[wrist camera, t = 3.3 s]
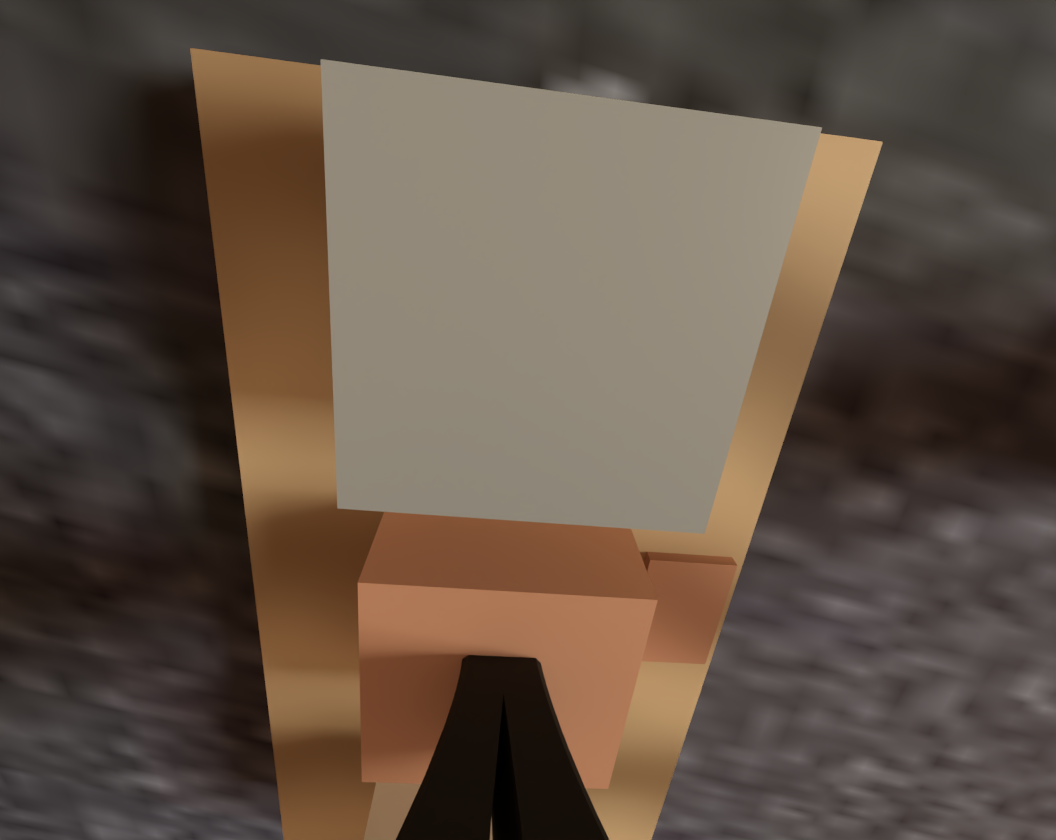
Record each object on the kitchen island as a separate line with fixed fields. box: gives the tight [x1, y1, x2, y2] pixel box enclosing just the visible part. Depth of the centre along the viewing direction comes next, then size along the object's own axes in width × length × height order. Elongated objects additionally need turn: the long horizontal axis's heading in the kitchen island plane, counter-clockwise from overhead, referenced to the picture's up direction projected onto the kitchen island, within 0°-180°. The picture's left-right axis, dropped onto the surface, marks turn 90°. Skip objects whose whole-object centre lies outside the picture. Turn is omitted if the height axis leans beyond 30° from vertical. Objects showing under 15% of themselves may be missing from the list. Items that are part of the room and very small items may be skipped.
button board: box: [190, 48, 883, 840], centre depth 12 cm, size 20×11×3 cm, turn 174°
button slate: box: [321, 59, 822, 534], centre depth 7 cm, size 5×5×2 cm
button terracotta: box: [358, 512, 658, 789], centre depth 11 cm, size 5×5×2 cm
